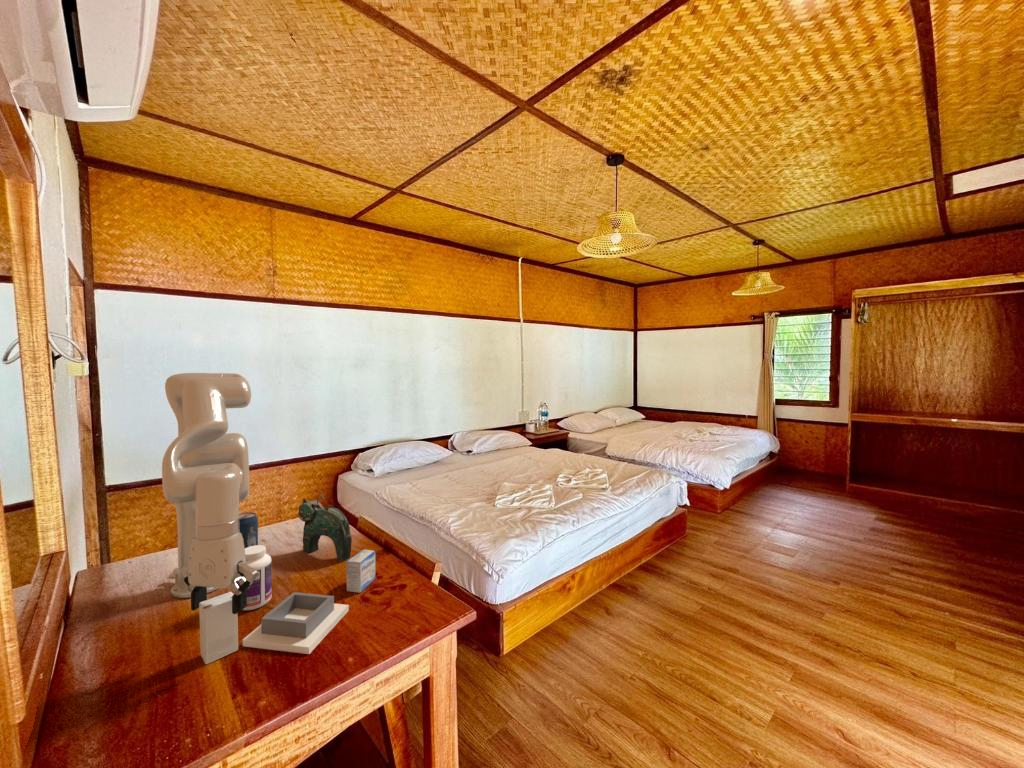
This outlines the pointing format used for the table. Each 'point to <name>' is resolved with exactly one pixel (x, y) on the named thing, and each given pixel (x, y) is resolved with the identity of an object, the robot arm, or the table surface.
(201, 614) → the skincare box
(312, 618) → the socket stand
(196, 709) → the table surface
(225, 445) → the robot arm
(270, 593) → the pill bottle
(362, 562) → the medicine box
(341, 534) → the spotted teal figurine
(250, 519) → the soda can
